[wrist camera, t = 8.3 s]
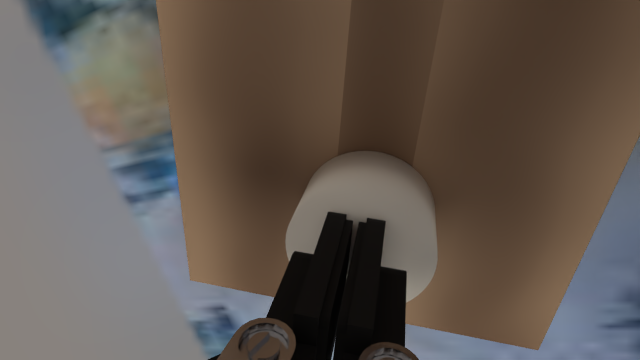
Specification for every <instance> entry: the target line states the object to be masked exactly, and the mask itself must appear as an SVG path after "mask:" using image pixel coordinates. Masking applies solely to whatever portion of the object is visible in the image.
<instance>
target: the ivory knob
mask: <svg viewBox="0 0 640 360" xmlns="http://www.w3.org/2000/svg"><path fill="white" fill-rule="evenodd" d="M328 212H335V213H341V214H347V220H353V228H352V236H351V245H350V253H349V261H348V269H347V275H348V271H349V266H350V261H351V257H352V252H353V247H354V242H355V238H356V233H357V228H358V224H359V222H365V223H366V221H367V218H372V219H378V220H384V221H386V224H385V233H384V242H383V250H382V259H381V266H382V267H388V268H393V269H399V270H405V271H406V272H407V285H406V303H407V302H408V301H410V300H412V299H414V298H415V297H416V296H418V295H419V294H420V293H421V292H422V291H423V290H424V289H425V288H426V287H427V286H428V284H429V283H430V281H431V279H432V278H433V276H434V273H435V270H436V266H437V260H438V258H437V236H436V219H435V205H434V199H433V196H432V193H431V190H430V188H429V186H428V184H427V183H426V181H425V180H424V178H423V177H422V176H421V175H420V174H419V173H418V172H417V171H416V170H415V169H414V168H413V167H411V166H410V165H409V164H407V163H406V162H404V161H403V160H401V159H398V158H396V157H394V156H391V155H388V154H385V153H381V152H376V151H355V152H349V153H345V154H342V155H339V156H337V157H334V158H332V159H331V160H329V161H327V162H326V163H325V164H323V165H322V166H321V167H320V168H319V169H318V170H317V171H316V172H315V173H314V175H313V176H312V178H311V179H310V181H309V183H308V185H307V187H306V190H305V192H304V194H303V196H302V198H301V200H300V202H299V204H298V206H297V208H296V211H295V213H294V215H293V217H292V219H291V221H290V223H289V225H288V229H287V232H286V240H285V243H286V252H287V257H288V259H289V261H290V259H291V256H292V254H293V252H294V251H298V252H304V253H309V254H314V251H315V248H316V245H317V242H318V239H319V237H320V234H321V231H322V228H323V225H324V222H325V219H326V216H327V213H328ZM346 280H347V278H346Z"/></svg>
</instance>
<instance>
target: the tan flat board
mask: <svg viewBox="0 0 640 360" xmlns="http://www.w3.org/2000/svg"><path fill="white" fill-rule="evenodd" d="M156 5H157V13H158V21H159V29H160V38H161V46H162V54H163V62H164V70H165V78H166V86H167V94H168V103H169V111H170V119H171V127H172V135H173V143H174V151H175V160H176V168H177V176H178V184H179V192H180V200H181V208H182V216H183V225H184V233H185V241H186V249H187V257H188V265H189V273H190V280H192V281H197V282H202V283H207V284H212V285H217V286H222V287H227V288H232V289H237V290H242V291H247V292H252V293H256V294H261V295H266V296H271V297H275V295H276V293H277V290H278V288H279V285H280V283H281V280H282V278H283V276H284V273H285V271H286V268H287V266H288V263H289V259H288V257H287V252H286V243H285V240H286V232H287V229H288V225H289V223H290V221H291V219H292V217H293V215H294V213H295V211H296V208H297V206H298V204H299V202H300V200H301V198H302V196H303V194H304V192H305V190H306V187H307V185H308V183H309V181H310V179H311V178H312V176H313V175H314V173H315V172H316V171H317V170H318V169H319V168H320V167H321V166H322V165H323V164H325V163H326V162H327V161H329V160H331V159H332V158H334V157H337V156H339V155H342V154H345V153H349V152H355V151H376V152H381V153H385V154H388V155H391V156H394V157H396V158H398V159H401V160H403V161H404V162H406V163H407V164H409V165H410V166H411V167H413V168H414V169H415V170H416V171H417V172H418V173H419V174H420V175H421V176H422V177H423V178H424V180H425V181H426V183H427V184H428V186H429V188H430V190H431V193H432V196H433V199H434V205H435V219H436V236H437V258H438V260H437V266H436V270H435V273H434V276H433V278H432V279H431V281H430V283H429V284H428V286H427V287H426V288H425V289H424V290H423V291H422V292H421V293H420V294H419V295H418V296H416V297H415V298H414V299H412V300H410V301H408V302H407V303H406V319H405V323H406V324H410V325H415V326H420V327H425V328H430V329H435V330H440V331H445V332H450V333H455V334H460V335H465V336H470V337H475V338H480V339H485V340H490V341H495V342H500V343H505V344H510V345H515V346H520V347H525V348H530V349H535V350H538V349H539V347H540V345H541V343H542V341H543V339H544V337H545V335H546V333H547V330H548V328H549V326H550V324H551V322H552V320H553V318H554V316H555V313H556V311H557V309H558V307H559V305H560V303H561V301H562V299H563V297H564V294H565V292H566V290H567V288H568V286H569V284H570V282H571V280H572V278H573V275H574V273H575V271H576V269H577V267H578V265H579V263H580V261H581V258H582V256H583V254H584V252H585V250H586V248H587V246H588V244H589V242H590V239H591V237H592V235H593V233H594V231H595V229H596V227H597V225H598V222H599V220H600V218H601V216H602V214H603V212H604V210H605V208H606V206H607V203H608V201H609V199H610V197H611V195H612V193H613V191H614V189H615V186H616V184H617V182H618V180H619V178H620V176H621V174H622V172H623V170H624V167H625V165H626V163H627V161H628V159H629V157H630V155H631V153H632V151H633V148H634V146H635V144H636V142H637V140H638V138H639V136H640V0H156Z"/></svg>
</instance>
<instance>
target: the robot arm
mask: <svg viewBox="0 0 640 360" xmlns="http://www.w3.org/2000/svg"><path fill="white" fill-rule="evenodd" d="M385 224H386V221H384V220H378V219H372V218H367V221H366V223H365V222H359V224H358V228H357V233H356V238H355V242H354V247H353V252H352V257H351V261H350V266H349V271H348V275H347V269H348V261H349V253H350V245H351V236H352V228H353V220H347V214H341V213H335V212H328V213H327V216H326V219H325V222H324V225H323V228H322V231H321V234H320V237H319V239H318V242H317V245H316V248H315V251H314V254H309V253H304V252H298V251H294V252H293V254H292V256H291V259H290V261H289V263H288V266H287V268H286V271H285V273H284V276H283V278H282V280H281V283H280V285H279V288H278V290H277V293H276V295H275V297H274V300H273V302H272V305H271V307H270V310H269V312H268V314H267V317H266V318H258V319H255V320H251V321H249V322H247V323H246V324H244V325H242V326H241V327H240V328H239V329H238V330H237V331H236V332H235V334H234V335H233V337H232V338H231V340H230V341H229V343H228V344H227V346H226V347H225V348H224V350H223V351H222V353H221V354H219V355H217V356H215V357H213V358H210V359H208V360H331V357H332V352H333V347H334V343H335V349H334V357H333V360H419V359H418V358H417V357H416V355H415V354H413V353H412V352H411V351H410V350H408V349H407V348H405V319H406V285H407V272H406V271H405V270H399V269H393V268H388V267H382V266H381V259H382V250H383V242H384V233H385ZM346 278H347V280H346ZM335 338H336V340H335Z"/></svg>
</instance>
